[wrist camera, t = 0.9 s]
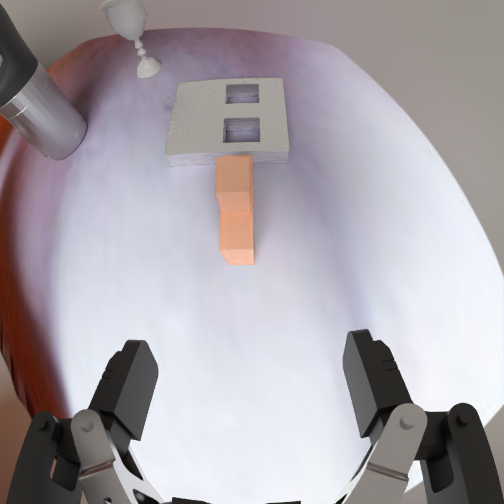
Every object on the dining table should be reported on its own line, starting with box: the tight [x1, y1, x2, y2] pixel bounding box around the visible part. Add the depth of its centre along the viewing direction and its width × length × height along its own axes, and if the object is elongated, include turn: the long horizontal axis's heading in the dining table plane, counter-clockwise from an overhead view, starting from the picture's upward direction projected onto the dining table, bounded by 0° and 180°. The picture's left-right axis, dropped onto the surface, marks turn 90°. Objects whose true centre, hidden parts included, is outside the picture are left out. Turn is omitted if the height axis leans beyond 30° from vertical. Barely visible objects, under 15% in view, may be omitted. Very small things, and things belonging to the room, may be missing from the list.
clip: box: [215, 155, 254, 265], centre depth 27 cm, size 3×10×14 cm, turn 0°
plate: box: [164, 78, 289, 167], centre depth 36 cm, size 16×14×3 cm
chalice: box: [99, 0, 162, 78], centre depth 32 cm, size 7×7×18 cm
